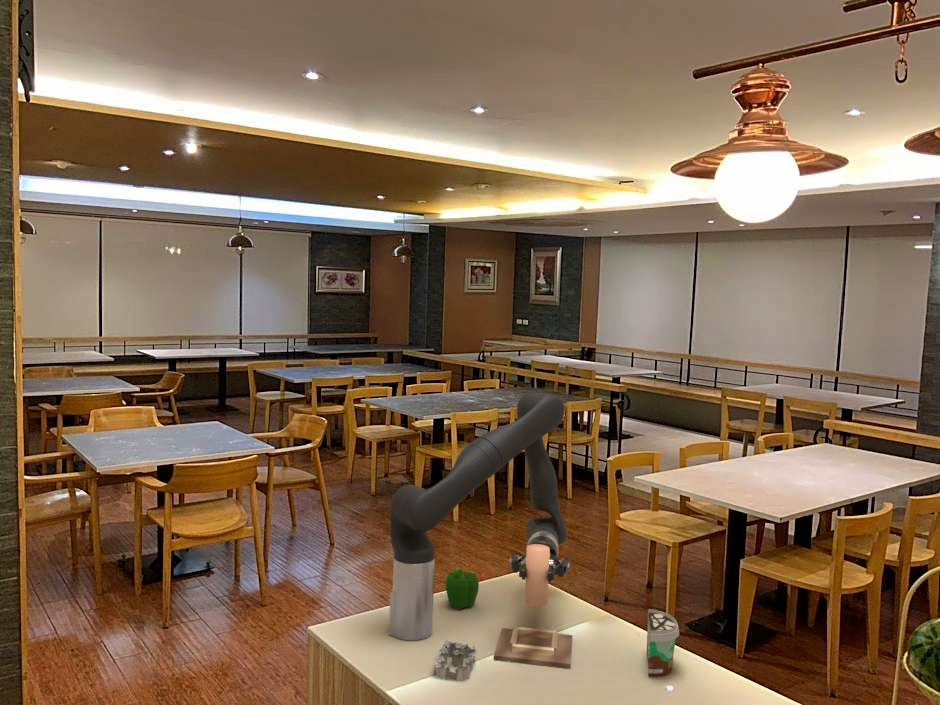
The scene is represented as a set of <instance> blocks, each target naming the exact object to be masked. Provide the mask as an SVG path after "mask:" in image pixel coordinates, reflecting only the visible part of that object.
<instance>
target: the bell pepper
mask: <svg viewBox="0 0 940 705" xmlns="http://www.w3.org/2000/svg"><path fill="white" fill-rule="evenodd" d="M445 579H446V581H445V590H446V591H445V592H446V595H447V596H446V597H447V601H448V603H449V605H450V606H451V607H452V608H453V609H457V610H461V609H466V608H472V606H473V605H474V603H475V602H476V599H477V596H478V592H479V587H480V582H479V579H478V576H477V574H476V572H467V571H465V570H463V568H462V567H460V566H459V567H456V568H455V569H454V570H453V571H449V572H448V575H447V577H446V578H445Z"/></svg>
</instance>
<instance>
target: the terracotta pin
mask: <svg viewBox="0 0 940 705" xmlns="http://www.w3.org/2000/svg"><path fill="white" fill-rule="evenodd" d="M526 547H527V552H526V578H525V580H524V581H525V583H524V584H525V585H524V588H525V589H524V590H525V591H524V603H525V604H526V605H528V606H531V607H537V608H539V607H544V606H546V605H548V603H549V583H550V582H548V570H549V556H550V548H549V547H548V546H545V545H541V544H532V545H528V546H527V545H526Z"/></svg>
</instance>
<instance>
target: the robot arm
mask: <svg viewBox="0 0 940 705" xmlns="http://www.w3.org/2000/svg"><path fill="white" fill-rule="evenodd" d="M565 412H566V406H565V403H564V402H563V400H562V399H561V398H560V397H558V396H557V395H554V394H551V393H544V392H543V393H541V392H526V393H525V394H523V395H522V396H521V397H519V400H518V402H517V406H516V413H517V414H516V416H517V420H515V421H513V422H510V423H508V424H505V425H502V426H498V427H496V428H494V429H492V430H489V431H487V432H485V433H482V434H481V435H479V436H478V437H476V438H475V439H474V440H473V441H472V442H470V443H469V444H468V445H466V446H465V447H464V448H463V449H462V450H461V452H459V454H458V455H457V457H456V460H455V461H454V464H453V467H452V468H451V470H450V472H449V473H448V474H447V475H446V476H445V477H444V478H443V479H441V480H440V481H439V482H437V483H436V484H434V485H433V486H431V487H430V488H427V489H426V488H423V487H420V486H418V485H415V484H405V485H403V486H401V487H400V488H398V489H397V491H396V492H395V493H394V494H393V497H392V499H391V504H390V512H389V514H390V515H389V520H390V521H389V522H390V524H389V526H390V528H389V529H390V532H389V533H390V544H391V547H392V550H393V572H392V573H393V577H392V591H391V592H390V594H389V618H388V619H389V621H388V622H389V624H388V625H389V626H388V635H389V636H394V637H395V638H397V639H399V640H404V641H420V640H423V639H427V638H429V637H430V636H431V635H432V633H433V623H434V618H433V616H434V615H433V614H434V589H435V588H434V585H435V582H434V581H435V556H436V555H435V554H436V552H435V544H434V543H433V542H432V540H431V539H430V538H429V536H428V534H427V532H428V531H431V530H433V529H434V528H436V527H437V526H438V525H439V524H440V523H441V522H443V520H444V519H445V518H446V517H447V516H448V515H449V514H450V513H451V512H453V510H454V509H455V508H456V507H457V506H458V505H459V504H460V503H461V502H462V501H463V500H464V499H465V498H467V497H468V496H469V495H470V494H472V493H473V492H474V491H475V490H476V489H477V488H478V487H480V486H481V485H482V484H483V483H484V482H486V481H487V480H489V479H490V478H491V477H492V476H494V475H495V474H496V473H497V472H498V471H500V470H501V469H503V468H504V466H506V464H508V463H509V462H510V461H511V460H513V459H514V458H515V457H517V456H518V455H519V454H520V453H521V452H523V451H524V453H525V458H526V462H527V467H528V469H527V470H528V475H529V490H530V504H531V507H532V508H533V509H534V510H538V511H542V512H545V513H548V515H550V516H535V517H532V518H530V519H529V520H528V521H527V523H526V526H525V532H526V533H525V535H526V538H527V544H526V548H525V551H524V553H523V554H522V555H521V556H519V555H517V554H516V553H515V552H511V553H510V557H509V565H510V568H511V570H512V573H514V574H515V573H518V577H519V578H521V580H524V581H526V552H527V546H528V545H532V544H541V545H545V546H548V547H549V548H550V556H549V570H548V582H549V583H552V581H554V580H555V579H556V576H557V575H558V577H559V578H563V577H564V576H565V575H566V574H567V573H568V572H569V570H570V566H571V565H570V563H571V558H570V557H565V558H562V559H559V545H560V546H561V545H563V544H564V543H565V542H566V540H567V538H568V529H567V524H566V523H565V522H566V521H565V519H564V517H563V514H562V511H561V507H560V502H559V493H558V492H559V491H558V478H557V475H556V470H555V468H554V465H553V463H552V460H551V459H550V456H549V454H548V452H547V449H546V446H545V444H544V440H543V439H544V436H546V435H547V434H549V433H550V432H552V431H554V430H555V429H556V428H557V427H559V426H560V424H561V423H562V420H563V419H564V417H565Z"/></svg>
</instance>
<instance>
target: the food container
mask: <svg viewBox="0 0 940 705" xmlns="http://www.w3.org/2000/svg"><path fill="white" fill-rule="evenodd" d="M646 633H647V634H646V665H647V666H646V667H647V677H648V678H650V677H651V678H657V677H658V678H660V677H664V676H665V677H666V676H669V674H671V673H672V670H673V661H674V655H675V644H676V639H677V638H678V637H679V636H680V629H679V625H678V622H677V620H676V618H674V617H673V615H671V614H668V613H666V612H663V611H660V610H657V609H650V608H648V610H647V631H646Z"/></svg>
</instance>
